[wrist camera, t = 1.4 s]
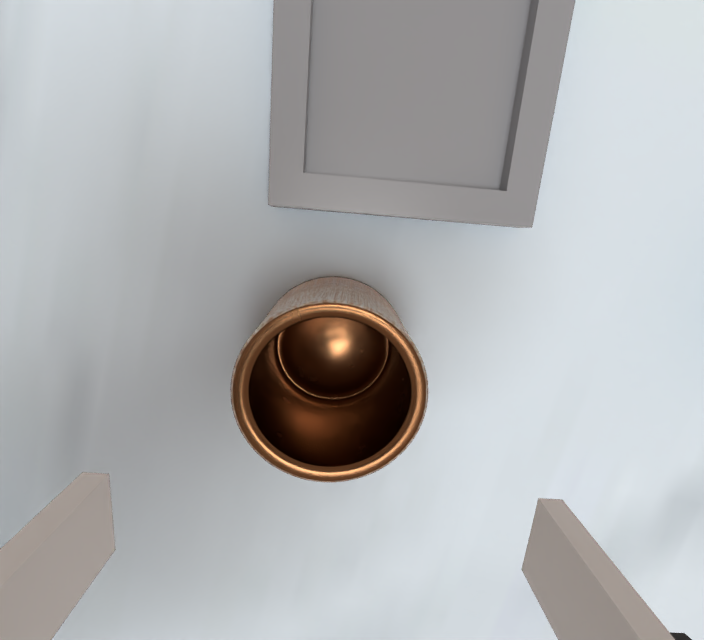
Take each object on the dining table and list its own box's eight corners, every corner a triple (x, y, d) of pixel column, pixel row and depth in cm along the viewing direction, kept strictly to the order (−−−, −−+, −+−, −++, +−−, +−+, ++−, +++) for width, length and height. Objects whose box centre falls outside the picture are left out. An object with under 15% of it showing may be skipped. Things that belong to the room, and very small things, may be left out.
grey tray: (273, 206, 27) (268, 204, 25) (284, -162, 22) (279, -200, 20) (518, 227, 27) (532, 227, 25) (582, -123, 23) (604, -156, 21)
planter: (294, 252, 27) (270, 263, 18) (425, 308, 29) (466, 346, 19) (244, 378, 30) (200, 446, 20) (368, 425, 31) (379, 509, 22)
